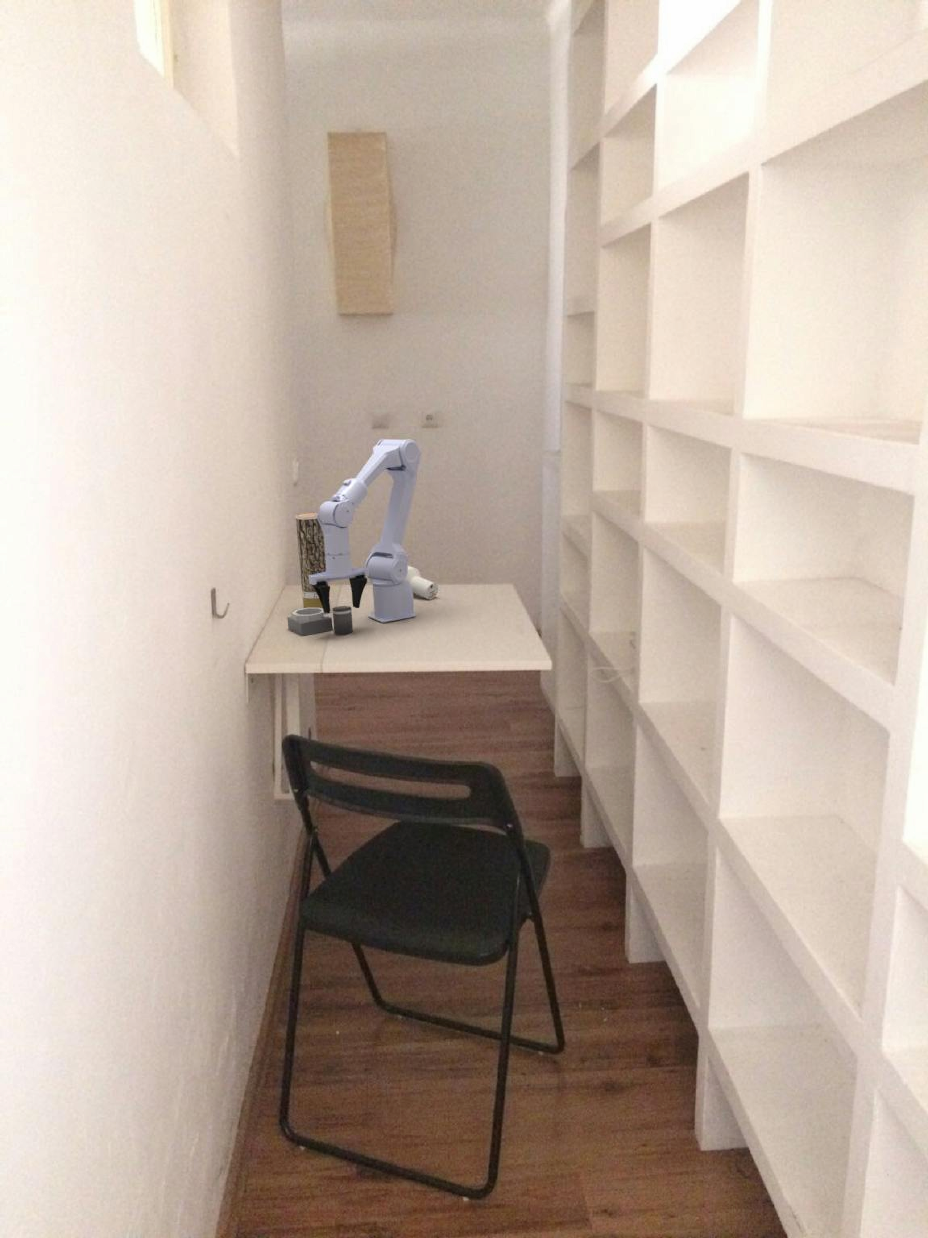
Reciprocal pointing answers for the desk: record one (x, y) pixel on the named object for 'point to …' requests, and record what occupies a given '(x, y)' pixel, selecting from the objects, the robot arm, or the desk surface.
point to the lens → (342, 620)
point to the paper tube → (310, 555)
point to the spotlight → (421, 584)
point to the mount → (309, 621)
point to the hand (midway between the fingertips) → (341, 609)
